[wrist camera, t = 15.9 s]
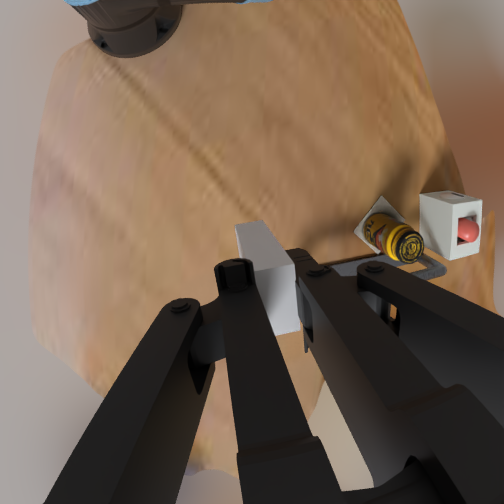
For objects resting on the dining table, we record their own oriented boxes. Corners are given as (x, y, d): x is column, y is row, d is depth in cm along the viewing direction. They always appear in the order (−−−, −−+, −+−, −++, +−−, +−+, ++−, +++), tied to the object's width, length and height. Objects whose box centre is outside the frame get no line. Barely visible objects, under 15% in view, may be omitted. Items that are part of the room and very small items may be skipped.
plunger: (436, 211, 54) (467, 223, 45) (449, 209, 54) (480, 221, 46) (435, 230, 55) (465, 244, 46) (448, 227, 55) (478, 240, 47)
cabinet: (419, 190, 55) (452, 200, 45) (448, 187, 55) (482, 196, 46) (419, 243, 58) (449, 260, 49) (447, 237, 59) (478, 252, 50)
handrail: (286, 289, 57) (301, 317, 48) (284, 273, 56) (300, 299, 47) (418, 259, 60) (448, 278, 50) (419, 245, 59) (449, 263, 49)
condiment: (352, 231, 56) (386, 253, 44) (381, 194, 54) (419, 208, 43) (377, 254, 58) (412, 279, 46) (404, 219, 56) (442, 237, 45)
